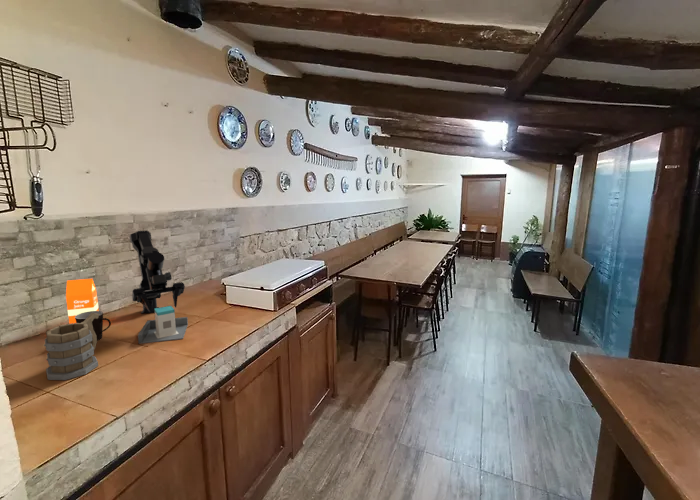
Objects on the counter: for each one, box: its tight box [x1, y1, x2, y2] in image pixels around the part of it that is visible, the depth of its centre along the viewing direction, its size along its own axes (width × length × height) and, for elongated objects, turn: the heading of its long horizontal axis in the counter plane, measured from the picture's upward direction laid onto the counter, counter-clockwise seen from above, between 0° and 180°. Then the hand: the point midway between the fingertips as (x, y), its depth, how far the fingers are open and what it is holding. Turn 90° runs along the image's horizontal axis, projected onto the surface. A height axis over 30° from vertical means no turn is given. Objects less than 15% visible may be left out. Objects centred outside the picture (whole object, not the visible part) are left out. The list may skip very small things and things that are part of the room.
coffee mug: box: [75, 310, 112, 342], centre depth 132 cm, size 12×9×10 cm
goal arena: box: [137, 316, 189, 345], centre depth 140 cm, size 15×15×4 cm
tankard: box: [43, 313, 99, 381], centre depth 114 cm, size 20×13×15 cm, turn 179°
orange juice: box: [65, 278, 100, 324], centre depth 146 cm, size 8×9×20 cm
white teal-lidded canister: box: [154, 305, 176, 337], centre depth 139 cm, size 6×6×10 cm
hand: (163, 309), depth 140 cm, fingers open, 9 cm apart
